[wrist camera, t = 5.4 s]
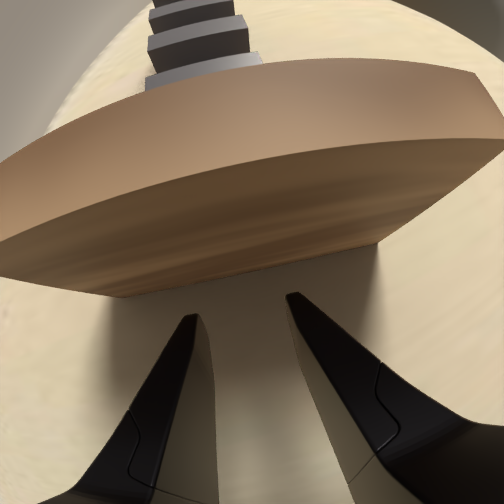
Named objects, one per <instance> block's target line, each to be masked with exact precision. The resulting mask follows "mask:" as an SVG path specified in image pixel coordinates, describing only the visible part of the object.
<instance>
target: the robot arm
mask: <svg viewBox="0 0 504 504" xmlns="http://www.w3.org/2000/svg"><path fill="white" fill-rule="evenodd" d="M285 303H286V310H287V317H288V321H289V325H290V329H291V333H292V337H293V341H294V345H295V348H296V352H297V356H298V360H299V364H300V367H301V370H302V372H303V375H304V377H305V380H306V382H307V385H308V387H309V390H310V392H311V395H312V397H313V400H314V402H315V405H316V407H317V410H318V412H319V415H320V417H321V420H322V422H323V425H324V427H325V430H326V432H327V435H328V437H329V440H330V442H331V445H332V447H333V450H334V452H335V455H336V457H337V460H338V462H339V465H340V467H341V470H342V472H343V475H344V477H345V480H346V482H347V484H348V487H349V490H350V492H351V495H352V497H353V500H354V502H355V504H504V426H499V425H490V424H482V423H477V422H473V421H470V420H468V419H466V418H463V417H461V416H460V415H458V414H456V413H455V412H453V411H451V410H450V409H448V408H447V407H445V406H443V405H442V404H440V403H439V402H437V401H435V400H434V399H432V398H431V397H429V396H428V395H426V394H424V393H423V392H421V391H420V390H418V389H417V388H415V387H414V386H413V385H411V384H410V383H408V382H407V381H405V380H404V379H403V378H402V377H400V376H399V375H398V374H397V373H395V372H394V371H393V370H392V369H390V368H389V367H388V366H387V365H386V364H384V363H383V362H381V361H380V359H378V358H377V357H376V356H375V355H374V354H372V353H371V352H370V351H369V350H368V349H367V348H365V347H364V346H363V345H362V344H361V343H359V342H358V341H357V340H356V339H355V338H353V337H352V336H351V335H350V334H349V333H348V332H346V331H345V330H344V329H343V328H342V327H340V326H339V325H338V324H337V323H336V322H334V321H333V320H332V319H331V318H330V317H329V316H327V315H326V314H325V313H324V312H323V311H321V310H320V309H319V308H318V307H317V306H315V305H314V304H313V303H312V302H311V301H310V300H308V299H307V298H306V297H305V296H304V295H302V294H301V293H300V292H293V293H289V294H286V295H285ZM38 504H219V492H218V474H217V453H216V424H215V385H214V375H213V368H212V361H211V353H210V345H209V338H208V334H207V331H206V328H205V326H204V324H203V322H202V319H201V317H200V315H199V314H197V313H195V314H190V315H186V316H184V317H183V319H182V320H181V322H180V324H179V325H178V327H177V328H176V330H175V332H174V333H173V335H172V336H171V338H170V340H169V341H168V343H167V345H166V346H165V348H164V350H163V351H162V353H161V354H160V356H159V358H158V359H157V361H156V363H155V364H154V366H153V368H152V369H151V371H150V373H149V374H148V376H147V378H146V379H145V381H144V383H143V384H142V386H141V388H140V389H139V391H138V393H137V394H136V396H135V398H134V399H133V401H132V403H131V405H130V406H129V410H127V411H126V413H125V415H124V416H123V418H122V420H121V421H120V423H119V425H118V426H117V428H116V429H115V431H114V433H113V434H112V436H111V437H110V439H109V440H108V442H107V443H106V444H105V446H104V447H103V449H102V450H101V452H100V453H99V454H98V456H97V457H96V458H95V460H94V461H93V462H92V464H91V465H90V467H89V468H88V469H87V471H86V472H85V473H84V475H83V476H82V477H81V479H80V480H79V481H78V482H77V483H76V484H75V485H74V486H73V487H72V488H71V489H69V490H68V491H66V492H64V493H62V494H60V495H58V496H55V497H53V498H50V499H48V500H46V501H43V502H41V503H38Z"/></svg>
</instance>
